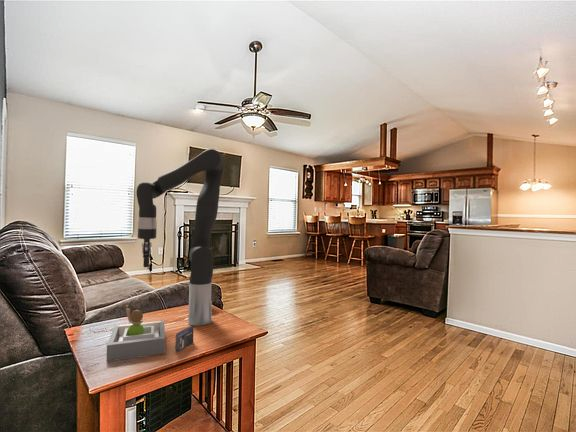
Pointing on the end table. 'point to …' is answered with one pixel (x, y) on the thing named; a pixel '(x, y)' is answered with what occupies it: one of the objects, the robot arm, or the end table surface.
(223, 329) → the end table surface
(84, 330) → the end table surface
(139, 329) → the snail figurine
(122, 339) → the tray
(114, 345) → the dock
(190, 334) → the mini dv tape
